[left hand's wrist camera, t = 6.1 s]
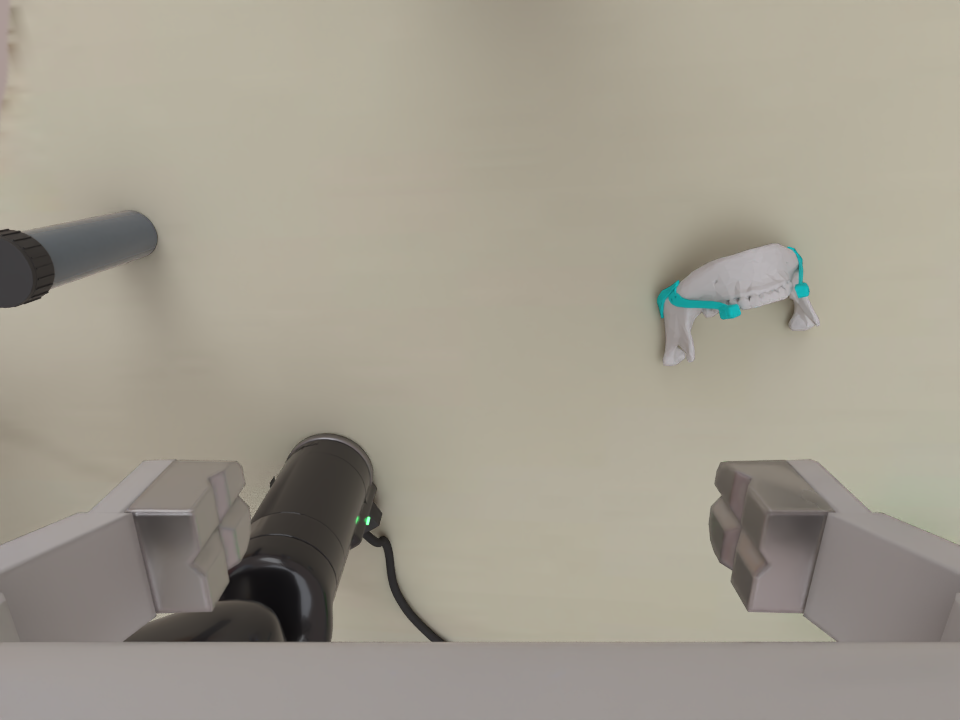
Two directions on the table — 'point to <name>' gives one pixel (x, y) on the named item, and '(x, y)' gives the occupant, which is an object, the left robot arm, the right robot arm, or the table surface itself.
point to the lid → (23, 269)
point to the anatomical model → (733, 294)
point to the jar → (95, 244)
